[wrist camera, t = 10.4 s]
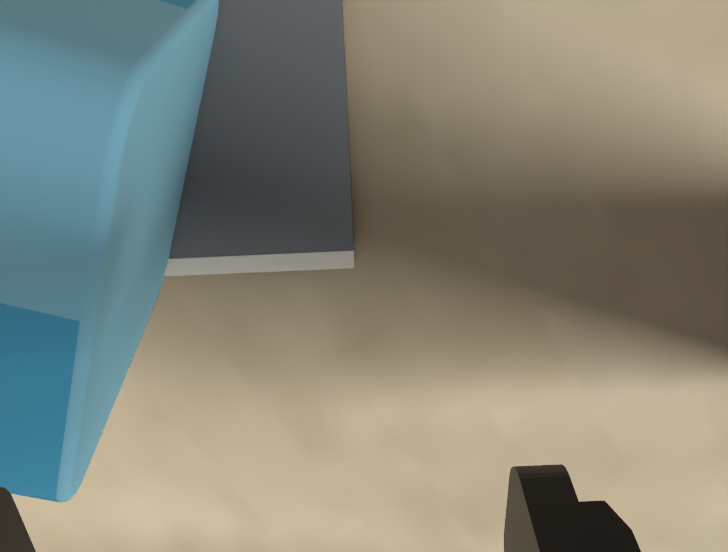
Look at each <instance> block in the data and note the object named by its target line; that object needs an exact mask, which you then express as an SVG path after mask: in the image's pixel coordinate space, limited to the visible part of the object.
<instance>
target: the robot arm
mask: <svg viewBox="0 0 728 552" xmlns="http://www.w3.org/2000/svg"><path fill="white" fill-rule="evenodd" d="M0 552H35V549H34V547H33V544H32V542H31V540H30V537H29V535H28V533H27V530H26V528H25V526H24V523H23V521H22V519H21V516H20V514H19V512H18V509H17V507H16V505H15V502H14V500H13V498H12V496H11V494H10V492H9V491H8V490H7V489H6V488H3V487H0ZM504 552H641V551H640V548H639V546H638V544H637V541H636V539H635V537H634V534H633V532H632V530H631V529H630V528H629V527H628V526H627V524H626V523H625V522H624V521H623V520H622V519H621V518H620V517H619V516H618V515H617V514H616V513H615V512H614V510H613V509H612V508H611V507H610V506H609V505H608V504H607V503H606V502H605V501H587V502H579V501H578V499H577V496H576V493H575V490H574V487H573V485H572V482H571V479H570V476H569V474H568V472H567V470H566V468H565V467H564V466H563V465H540V466H517V467H512V468H511V471H510V477H509V488H508V498H507V508H506V519H505V529H504Z"/></svg>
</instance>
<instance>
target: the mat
mask: <svg viewBox="0 0 728 552" xmlns="http://www.w3.org/2000/svg"><path fill="white" fill-rule="evenodd" d="M349 268H355V265H354V243H353V221H352V200H351V178H350V157H349V135H348V114H347V92H346V71H345V49H344V28H343V7H342V0H219V6H218V16H217V23H216V28H215V34H214V39H213V44H212V48H211V53H210V58H209V63H208V68H207V73H206V78H205V83H204V88H203V92H202V97H201V102H200V107H199V112H198V117H197V122H196V127H195V131H194V136H193V141H192V146H191V151H190V156H189V161H188V166H187V171H186V175H185V180H184V185H183V190H182V195H181V200H180V205H179V210H178V214H177V219H176V224H175V229H174V234H173V239H172V244H171V249H170V253H169V258H168V263H167V267H166V271H165V274H164V277H167V276H190V275H213V274H236V273H258V272H281V271H304V270H327V269H349Z"/></svg>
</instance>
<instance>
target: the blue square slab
mask: <svg viewBox="0 0 728 552" xmlns="http://www.w3.org/2000/svg"><path fill="white" fill-rule="evenodd" d="M218 6H219V0H0V487H3V488H6V489H7V490H8V491H9V492H10V493H11V494H17V495H22V496H28V497H33V498H39V499H44V500H50V501H55V502H65V501H68V500H69V499H71V498H72V497H73V496H74V495H75V493H76V492H77V490H78V488H79V486H80V484H81V482H82V480H83V477H84V475H85V473H86V470H87V468H88V465H89V463H90V461H91V458H92V456H93V453H94V451H95V448H96V446H97V444H98V441H99V439H100V436H101V434H102V431H103V429H104V427H105V424H106V422H107V419H108V417H109V414H110V412H111V410H112V407H113V405H114V402H115V400H116V397H117V395H118V393H119V390H120V388H121V385H122V383H123V380H124V378H125V376H126V373H127V371H128V368H129V366H130V363H131V361H132V359H133V356H134V354H135V351H136V349H137V346H138V344H139V342H140V339H141V337H142V334H143V332H144V329H145V327H146V325H147V322H148V320H149V317H150V315H151V312H152V310H153V308H154V305H155V303H156V300H157V297H158V294H159V291H160V288H161V285H162V282H163V278H164V274H165V271H166V267H167V263H168V258H169V253H170V249H171V244H172V239H173V234H174V229H175V224H176V219H177V214H178V210H179V205H180V200H181V195H182V190H183V185H184V180H185V175H186V171H187V166H188V161H189V156H190V151H191V146H192V141H193V136H194V131H195V127H196V122H197V117H198V112H199V107H200V102H201V97H202V92H203V88H204V83H205V78H206V73H207V68H208V63H209V58H210V53H211V48H212V44H213V39H214V34H215V28H216V23H217V16H218Z"/></svg>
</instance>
